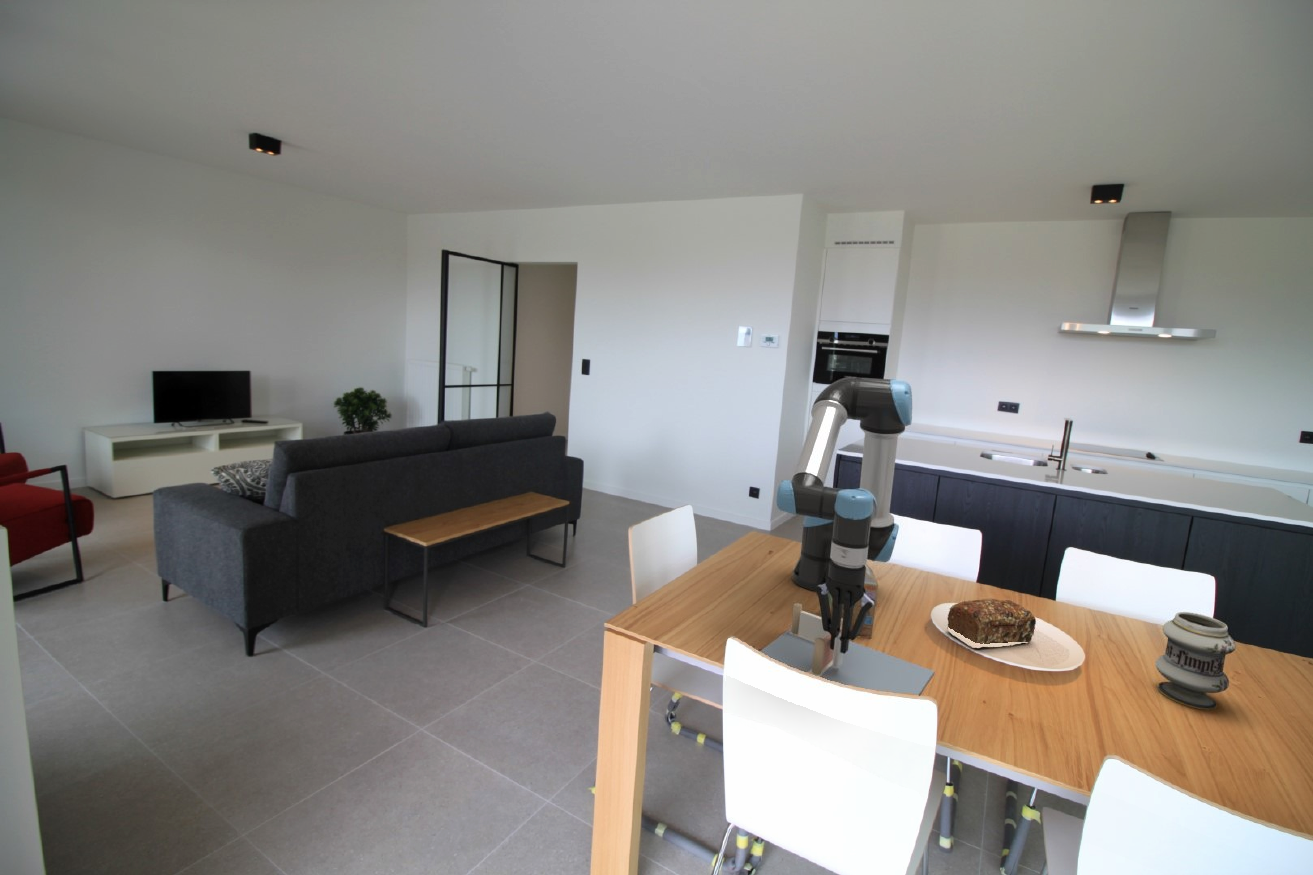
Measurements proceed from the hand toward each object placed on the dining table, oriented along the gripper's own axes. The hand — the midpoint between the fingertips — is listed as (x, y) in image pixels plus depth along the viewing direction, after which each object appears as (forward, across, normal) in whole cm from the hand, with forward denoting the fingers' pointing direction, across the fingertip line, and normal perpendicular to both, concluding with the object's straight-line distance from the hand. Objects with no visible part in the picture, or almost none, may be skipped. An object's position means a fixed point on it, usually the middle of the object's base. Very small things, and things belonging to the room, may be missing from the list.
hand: (837, 664), depth 132 cm
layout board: (+2, 0, +5) cm, 5 cm away
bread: (+3, +22, +45) cm, 50 cm away
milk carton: (+2, -7, +25) cm, 26 cm away
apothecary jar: (+3, +61, +47) cm, 77 cm away
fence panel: (+1, -3, +2) cm, 3 cm away
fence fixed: (+1, -9, +10) cm, 13 cm away
